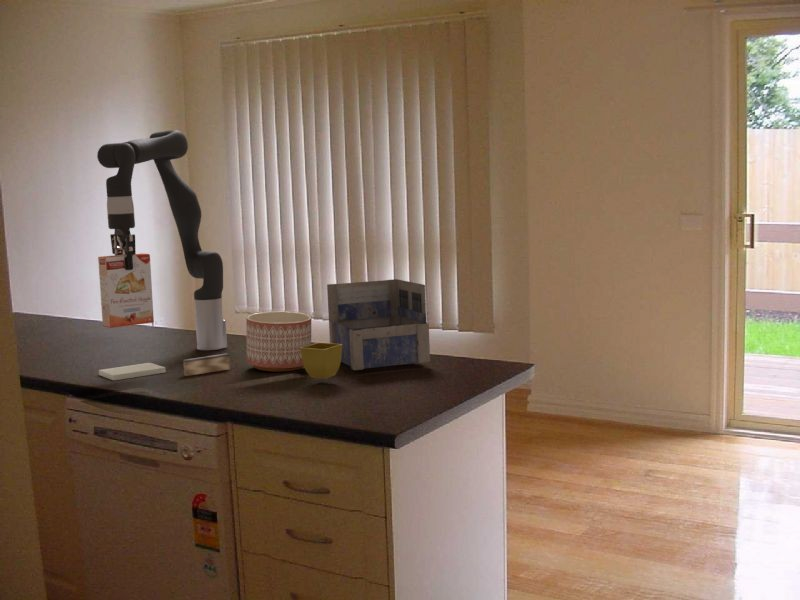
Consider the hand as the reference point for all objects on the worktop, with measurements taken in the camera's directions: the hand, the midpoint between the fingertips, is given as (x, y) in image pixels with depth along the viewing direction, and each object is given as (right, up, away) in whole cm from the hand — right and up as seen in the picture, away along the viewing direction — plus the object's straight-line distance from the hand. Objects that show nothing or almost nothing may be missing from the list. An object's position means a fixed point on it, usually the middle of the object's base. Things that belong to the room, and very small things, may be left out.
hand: (125, 269), depth 279 cm
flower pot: (+60, -31, -13) cm, 68 cm away
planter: (+45, -29, +5) cm, 54 cm away
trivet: (+1, -31, +4) cm, 31 cm away
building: (+75, -28, +11) cm, 81 cm away
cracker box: (+1, -17, +2) cm, 17 cm away
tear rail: (+24, -31, +1) cm, 39 cm away
